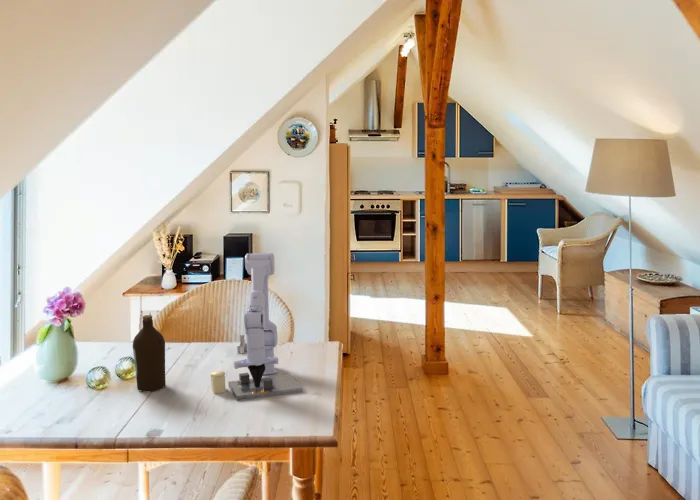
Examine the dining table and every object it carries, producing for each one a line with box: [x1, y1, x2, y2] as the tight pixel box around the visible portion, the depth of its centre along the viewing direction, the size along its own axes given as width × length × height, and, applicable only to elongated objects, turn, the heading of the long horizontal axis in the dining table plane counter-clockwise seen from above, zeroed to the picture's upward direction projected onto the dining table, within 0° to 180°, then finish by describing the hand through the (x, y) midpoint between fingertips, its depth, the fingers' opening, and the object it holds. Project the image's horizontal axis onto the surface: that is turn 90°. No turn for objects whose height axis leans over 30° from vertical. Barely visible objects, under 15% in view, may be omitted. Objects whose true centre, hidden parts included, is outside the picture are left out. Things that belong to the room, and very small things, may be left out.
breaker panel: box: [227, 373, 303, 401], centre depth 254 cm, size 15×22×2 cm
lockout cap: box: [210, 370, 227, 394], centre depth 253 cm, size 5×5×6 cm
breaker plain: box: [238, 372, 251, 384], centre depth 256 cm, size 2×3×3 cm
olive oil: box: [132, 314, 166, 392], centre depth 256 cm, size 11×11×25 cm
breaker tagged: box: [262, 378, 273, 389], centre depth 251 cm, size 2×3×3 cm
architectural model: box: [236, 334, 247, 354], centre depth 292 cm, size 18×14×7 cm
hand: (257, 386), depth 250 cm, fingers closed
